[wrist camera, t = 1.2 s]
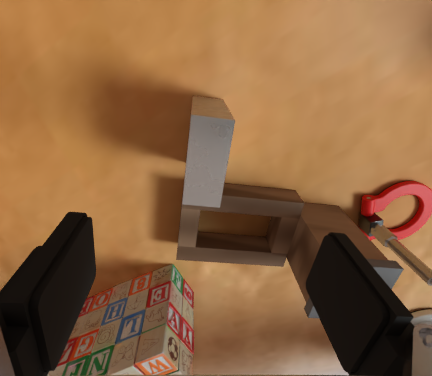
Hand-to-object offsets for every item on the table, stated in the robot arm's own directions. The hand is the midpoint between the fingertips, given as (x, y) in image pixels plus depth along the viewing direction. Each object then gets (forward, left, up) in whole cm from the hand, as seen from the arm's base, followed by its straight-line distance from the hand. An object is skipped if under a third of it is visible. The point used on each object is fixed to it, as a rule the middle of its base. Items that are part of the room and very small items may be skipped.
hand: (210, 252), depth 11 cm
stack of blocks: (-26, +9, -19) cm, 34 cm away
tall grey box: (0, 0, -19) cm, 19 cm away
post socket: (-10, -8, -19) cm, 23 cm away
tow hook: (-7, -25, -19) cm, 32 cm away
